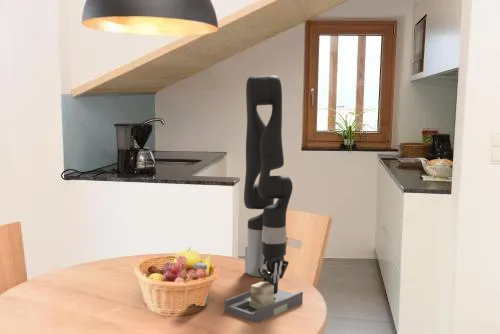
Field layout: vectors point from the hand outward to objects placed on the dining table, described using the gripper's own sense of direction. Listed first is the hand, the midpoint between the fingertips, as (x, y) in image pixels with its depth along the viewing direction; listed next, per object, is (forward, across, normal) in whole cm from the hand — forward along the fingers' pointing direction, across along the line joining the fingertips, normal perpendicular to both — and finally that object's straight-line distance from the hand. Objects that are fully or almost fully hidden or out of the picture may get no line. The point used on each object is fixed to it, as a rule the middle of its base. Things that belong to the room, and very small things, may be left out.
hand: (273, 293), depth 170 cm
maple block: (+1, +5, 0) cm, 5 cm away
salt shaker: (+3, +16, -16) cm, 23 cm away
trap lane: (+3, +4, 0) cm, 5 cm away
